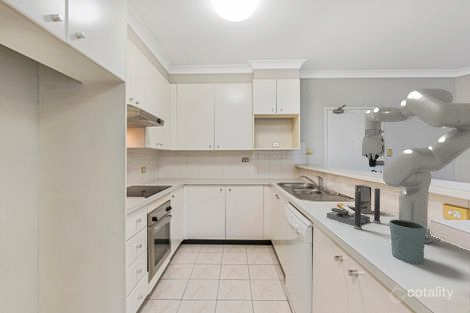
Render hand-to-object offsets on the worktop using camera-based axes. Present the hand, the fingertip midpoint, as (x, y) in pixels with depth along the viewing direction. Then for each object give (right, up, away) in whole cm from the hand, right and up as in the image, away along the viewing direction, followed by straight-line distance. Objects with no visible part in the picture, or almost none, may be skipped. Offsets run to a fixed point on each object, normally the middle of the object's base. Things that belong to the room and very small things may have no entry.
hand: (372, 166), depth 116 cm
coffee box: (+5, -29, +17) cm, 34 cm away
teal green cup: (-15, -30, -41) cm, 53 cm away
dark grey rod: (-15, -29, -13) cm, 36 cm away
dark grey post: (-1, -29, -4) cm, 30 cm away
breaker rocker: (-13, -24, +2) cm, 27 cm away
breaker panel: (-13, -29, +1) cm, 32 cm away
